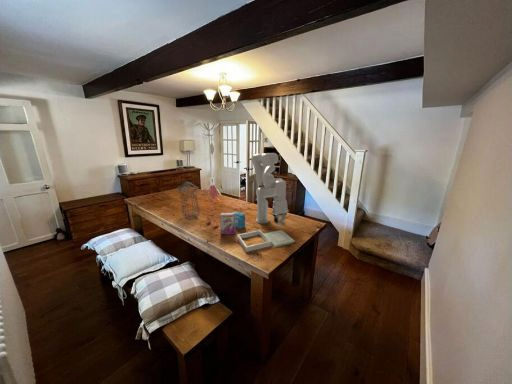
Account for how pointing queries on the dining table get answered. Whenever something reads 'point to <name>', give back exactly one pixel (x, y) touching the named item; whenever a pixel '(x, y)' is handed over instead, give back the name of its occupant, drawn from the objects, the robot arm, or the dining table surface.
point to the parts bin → (256, 246)
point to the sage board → (279, 238)
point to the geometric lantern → (189, 197)
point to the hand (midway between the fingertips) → (279, 221)
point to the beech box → (281, 219)
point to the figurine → (213, 193)
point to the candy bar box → (227, 223)
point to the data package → (239, 220)
